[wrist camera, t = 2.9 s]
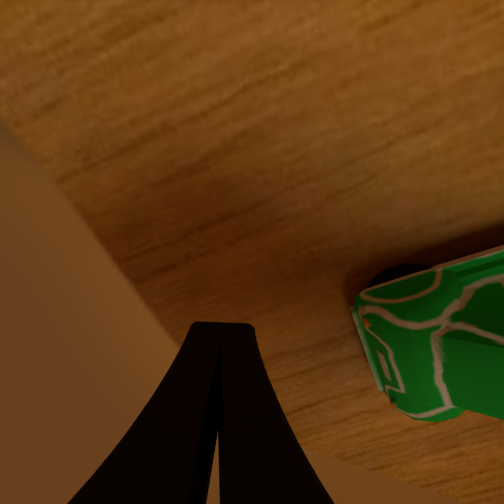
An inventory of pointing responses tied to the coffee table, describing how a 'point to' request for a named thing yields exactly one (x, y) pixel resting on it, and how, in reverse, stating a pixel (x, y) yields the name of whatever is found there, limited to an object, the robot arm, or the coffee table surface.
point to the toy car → (437, 336)
